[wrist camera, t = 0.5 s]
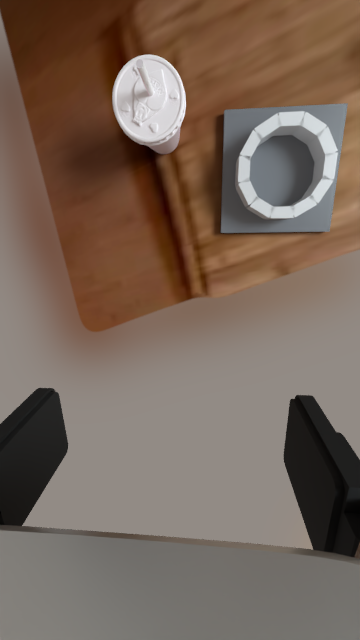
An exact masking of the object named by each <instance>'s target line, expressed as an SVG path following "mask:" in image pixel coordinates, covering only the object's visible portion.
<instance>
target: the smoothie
mask: <svg viewBox="0 0 360 640" xmlns="http://www.w3.org/2000/svg"><path fill="white" fill-rule="evenodd" d="M112 101H113V109H114V113H115V116H116V119H117V121H118V123H119V125H120V126H121V128H122V129H123V131H124V132H125V134H126V135H127V136H128V137H130V138H131V139H132V140H133V141H135V142H137V143H139V144H141V145H147V146H148V147H150V148H151V149H153V150H154V151H156V152H157V153H160V154H168V153H170V152H172V151H173V150H174V149H175V148H176V146H177V145H178V142H179V135H180V126H181V123H182V121H183V118H184V115H185V108H186V98H185V91H184V88H183V84H182V81H181V78H180V76H179V74H178V72H177V71H176V70H175V68H174V67H173V66H172V65H171V64H170V63H169V62H168V61H166V60H165V59H163V58H161V57H159V56H155V55H142V56H138V57H136V58H134V59H132V60H130V61H129V62H128V63H127V64H126V65H125V66H124V67H123V68H122V69H121V71H120V72H119V74H118V76H117V78H116V81H115V84H114V88H113V95H112Z"/></svg>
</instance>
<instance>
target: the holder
mask: <svg viewBox="0 0 360 640" xmlns="http://www.w3.org/2000/svg"><path fill="white" fill-rule="evenodd" d="M347 105H348V103H347V104H328V105H309V106H290V107H271V108H252V109H233V110H225V111H224V132H223V167H222V202H221V233H255V232H323V231H330V224H331V217H332V210H333V203H334V196H335V189H336V182H337V175H338V168H339V161H340V154H341V147H342V140H343V133H344V126H345V119H346V112H347Z"/></svg>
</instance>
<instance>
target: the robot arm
mask: <svg viewBox="0 0 360 640" xmlns="http://www.w3.org/2000/svg"><path fill="white" fill-rule="evenodd" d="M67 449H68V442H67V436H66V430H65V425H64V420H63V414H62V409H61V404H60V398H59V394H58V393H57V392H55V390H54V389H52V388H38V389H37V390H36V391H34V392H33V394H31V395H30V396H29V397H28V398H27V399H26V400H25V401H24V402H23V403H22V404H21V405H20V406H19V407H18V408H17V409H16V410H15V411H13V412H12V414H11V415H9V416H8V417H7V418H6V419H5V420H4V421H3V422H2V423H1V424H0V640H360V460H359V458H358V457H357V455H356V454H355V452H354V451H353V450H352V448H351V446H350V445H349V443H348V442H347V440H346V439H345V437H344V436H343V435H342V434H341V433H337V432H336V431H335V430H334V428H333V427H332V425H331V424H330V422H329V420H328V419H327V417H326V416H325V414H324V413H323V411H322V409H321V408H320V406H319V405H318V403H317V402H316V400H315V399H314V397H313V396H306V395H297V396H296V397H295V399H291V400H290V407H289V416H288V423H287V431H286V440H285V449H284V463H285V466H286V469H287V472H288V475H289V478H290V481H291V484H292V487H293V490H294V493H295V496H296V499H297V502H298V505H299V508H300V511H301V513H302V517H303V520H304V523H305V525H306V529H307V532H308V535H309V538H310V540H311V543H312V546H313V549H314V550H311V549H302V548H293V547H282V546H273V545H262V544H252V543H241V542H228V541H215V540H204V539H191V538H179V537H166V536H153V535H139V534H126V533H113V532H99V531H85V530H72V529H56V528H42V527H28V526H22V525H23V523H24V521H25V520H26V518H27V517H28V515H29V513H30V512H31V510H32V508H33V507H34V505H35V504H36V502H37V500H38V499H39V497H40V495H41V494H42V492H43V491H44V489H45V487H46V485H47V484H48V482H49V481H50V479H51V477H52V476H53V474H54V473H55V471H56V469H57V468H58V466H59V465H60V463H61V461H62V460H63V458H64V456H65V455H66V453H67Z"/></svg>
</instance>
